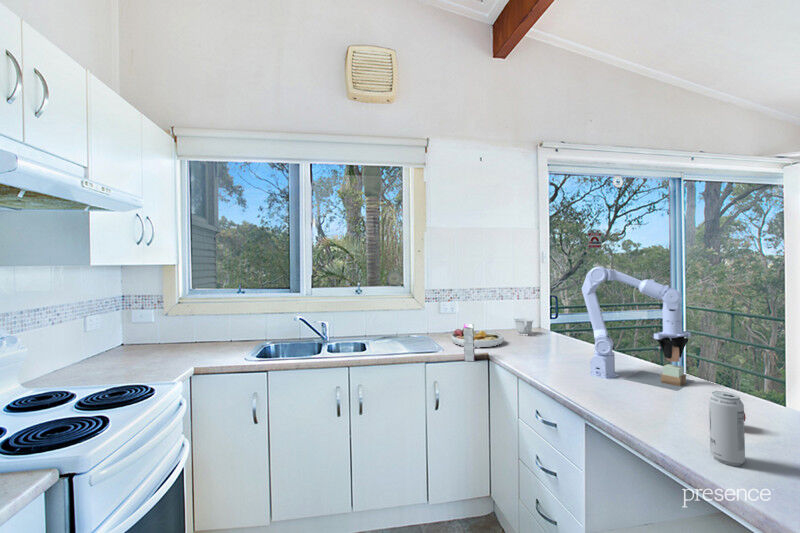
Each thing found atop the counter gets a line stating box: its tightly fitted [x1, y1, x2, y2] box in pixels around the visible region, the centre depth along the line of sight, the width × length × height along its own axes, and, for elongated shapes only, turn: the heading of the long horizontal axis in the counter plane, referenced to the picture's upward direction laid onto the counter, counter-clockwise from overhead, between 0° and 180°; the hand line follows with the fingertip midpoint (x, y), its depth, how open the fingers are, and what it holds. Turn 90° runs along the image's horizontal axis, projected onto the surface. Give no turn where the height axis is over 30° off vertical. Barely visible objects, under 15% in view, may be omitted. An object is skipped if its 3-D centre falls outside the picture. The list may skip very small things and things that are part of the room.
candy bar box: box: [462, 323, 476, 362], centre depth 183 cm, size 11×5×16 cm, turn 168°
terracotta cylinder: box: [665, 346, 680, 363], centre depth 139 cm, size 4×4×5 cm
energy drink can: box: [708, 390, 746, 467], centre depth 85 cm, size 6×6×15 cm
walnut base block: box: [660, 373, 687, 386], centre depth 138 cm, size 6×6×3 cm
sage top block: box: [662, 363, 685, 378], centre depth 138 cm, size 5×5×3 cm
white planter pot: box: [513, 317, 534, 335], centre depth 239 cm, size 12×15×10 cm
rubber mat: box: [622, 370, 695, 392], centre depth 142 cm, size 18×18×1 cm
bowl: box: [450, 328, 504, 348], centre depth 219 cm, size 30×30×8 cm
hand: (672, 357), depth 139 cm, fingers closed on terracotta cylinder, 4 cm apart
